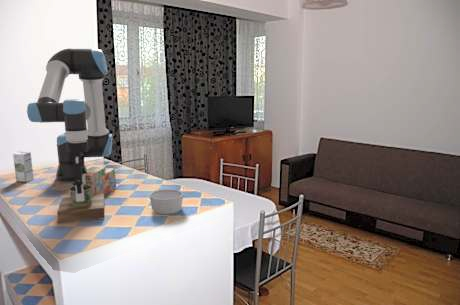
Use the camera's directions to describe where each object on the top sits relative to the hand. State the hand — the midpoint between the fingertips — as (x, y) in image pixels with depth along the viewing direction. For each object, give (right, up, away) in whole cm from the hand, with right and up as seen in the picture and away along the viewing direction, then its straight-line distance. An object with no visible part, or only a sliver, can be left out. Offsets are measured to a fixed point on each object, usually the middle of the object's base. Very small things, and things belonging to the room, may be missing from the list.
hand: (81, 195), depth 141 cm
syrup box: (-45, +2, +41) cm, 61 cm away
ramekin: (+32, -7, +6) cm, 33 cm away
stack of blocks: (-2, -2, +24) cm, 24 cm away
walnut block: (0, -8, +2) cm, 8 cm away
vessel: (0, -3, +1) cm, 3 cm away
